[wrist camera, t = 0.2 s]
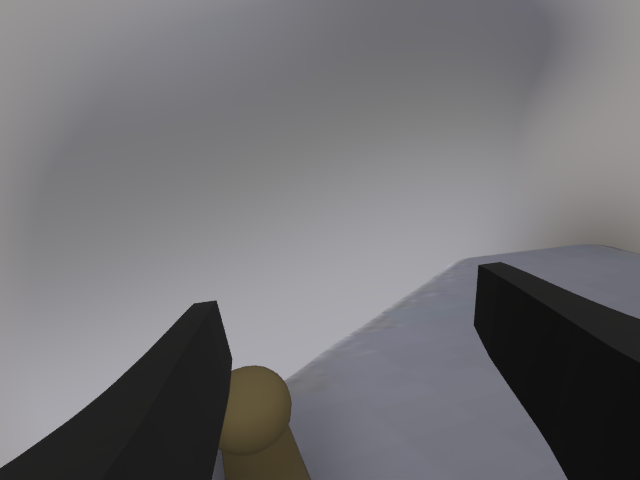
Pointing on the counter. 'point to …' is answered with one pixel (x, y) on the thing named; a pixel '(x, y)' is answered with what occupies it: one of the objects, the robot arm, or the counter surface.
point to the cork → (259, 429)
